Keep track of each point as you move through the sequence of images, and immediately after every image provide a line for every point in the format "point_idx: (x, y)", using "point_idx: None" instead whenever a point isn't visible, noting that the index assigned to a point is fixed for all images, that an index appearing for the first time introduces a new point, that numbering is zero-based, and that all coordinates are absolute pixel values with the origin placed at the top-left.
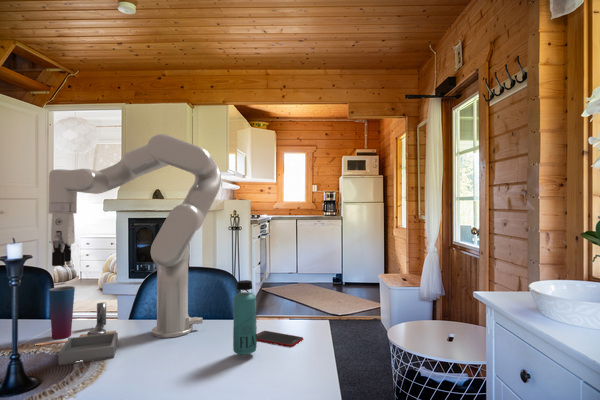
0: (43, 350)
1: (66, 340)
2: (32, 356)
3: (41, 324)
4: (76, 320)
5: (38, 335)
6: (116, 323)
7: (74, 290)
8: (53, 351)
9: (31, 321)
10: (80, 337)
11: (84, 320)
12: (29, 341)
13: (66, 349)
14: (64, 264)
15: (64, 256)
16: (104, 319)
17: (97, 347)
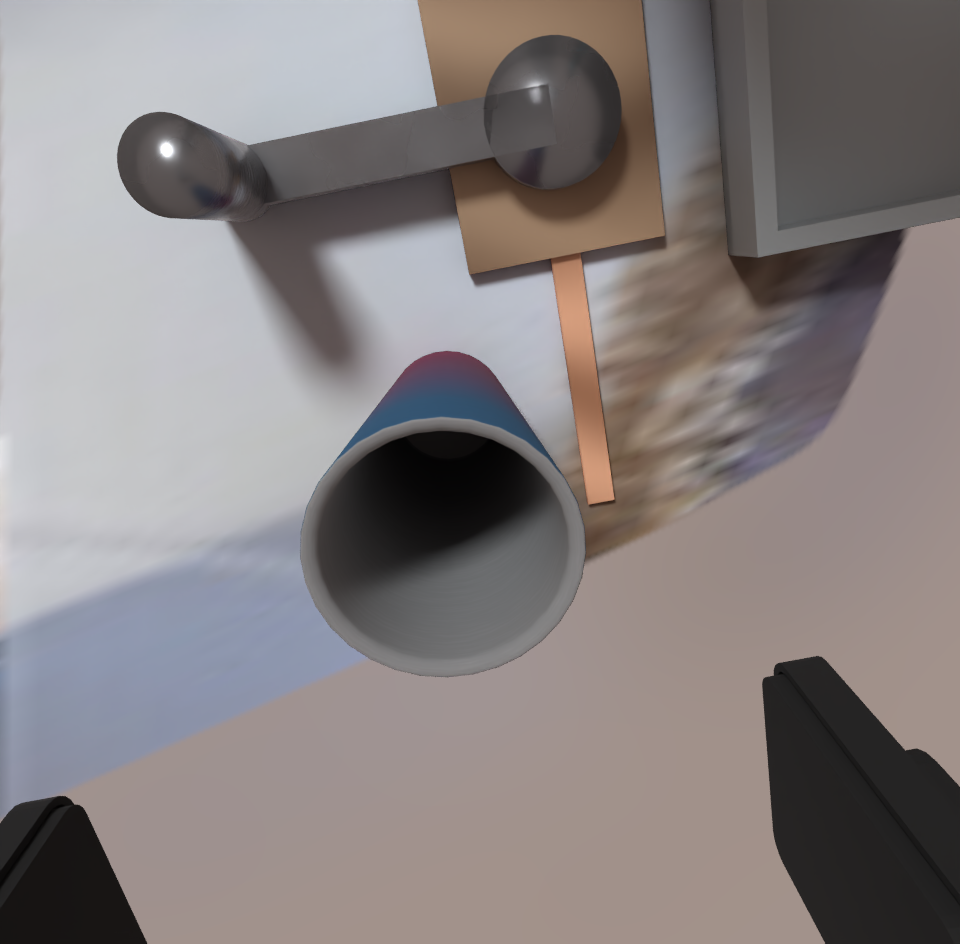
0: (711, 406)
1: (566, 332)
2: (804, 423)
3: (124, 663)
4: (23, 467)
5: None
6: (128, 78)
7: (413, 412)
8: (751, 335)
9: (45, 755)
10: (773, 166)
11: (23, 403)
12: None
13: (943, 196)
14: (790, 662)
15: (945, 809)
16: (240, 143)
17: (827, 18)
